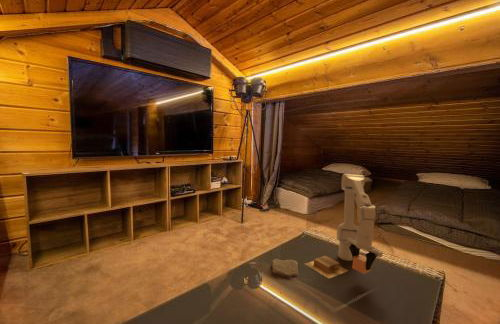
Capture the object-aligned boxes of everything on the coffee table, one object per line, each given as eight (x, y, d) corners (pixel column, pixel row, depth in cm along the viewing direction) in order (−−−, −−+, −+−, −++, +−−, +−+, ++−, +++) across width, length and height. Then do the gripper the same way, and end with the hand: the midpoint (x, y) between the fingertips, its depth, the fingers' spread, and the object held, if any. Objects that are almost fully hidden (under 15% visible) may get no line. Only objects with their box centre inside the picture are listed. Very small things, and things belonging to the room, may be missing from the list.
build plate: (323, 259, 119) (323, 257, 119) (348, 272, 107) (348, 270, 107) (304, 265, 111) (304, 263, 111) (328, 281, 100) (328, 278, 100)
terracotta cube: (359, 265, 102) (360, 254, 101) (370, 270, 97) (371, 259, 97) (352, 268, 99) (353, 256, 98) (363, 274, 95) (364, 262, 94)
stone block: (299, 282, 100) (297, 266, 110) (300, 273, 99) (297, 257, 109) (271, 280, 101) (271, 264, 111) (271, 271, 100) (271, 256, 110)
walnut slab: (324, 261, 115) (325, 255, 115) (338, 269, 108) (339, 262, 108) (313, 265, 110) (314, 259, 110) (327, 273, 104) (328, 267, 103)
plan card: (345, 285, 97) (345, 284, 97) (361, 294, 91) (361, 293, 91) (336, 289, 94) (336, 288, 94) (352, 299, 88) (352, 298, 88)
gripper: (343, 230, 101) (340, 260, 102) (377, 243, 89) (373, 277, 90) (353, 227, 105) (350, 257, 106) (386, 239, 93) (383, 272, 94)
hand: (361, 266), depth 98 cm, fingers closed on terracotta cube, 5 cm apart
